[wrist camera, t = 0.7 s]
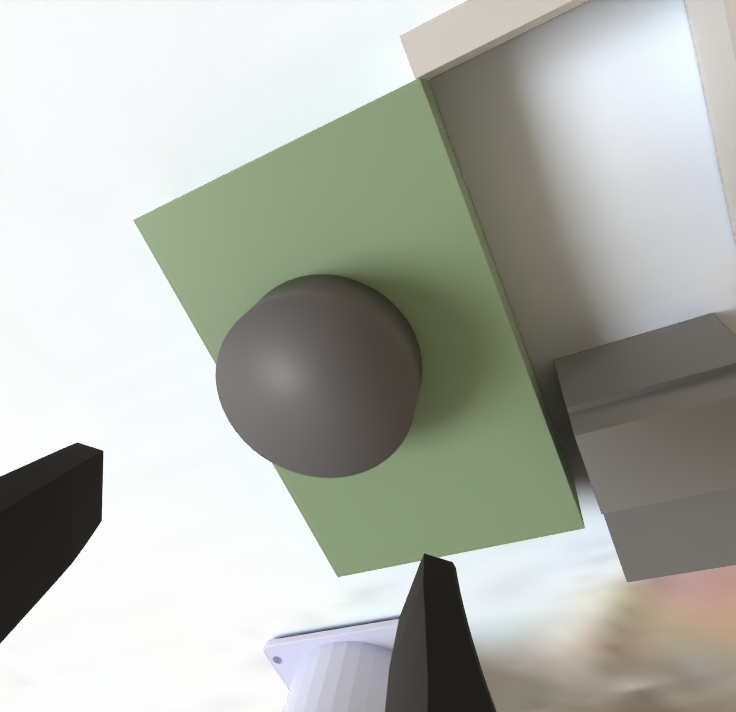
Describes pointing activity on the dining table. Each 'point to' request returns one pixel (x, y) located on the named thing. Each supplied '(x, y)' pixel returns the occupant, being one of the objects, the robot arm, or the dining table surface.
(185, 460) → the dining table surface
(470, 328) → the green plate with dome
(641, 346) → the grey stepped block
